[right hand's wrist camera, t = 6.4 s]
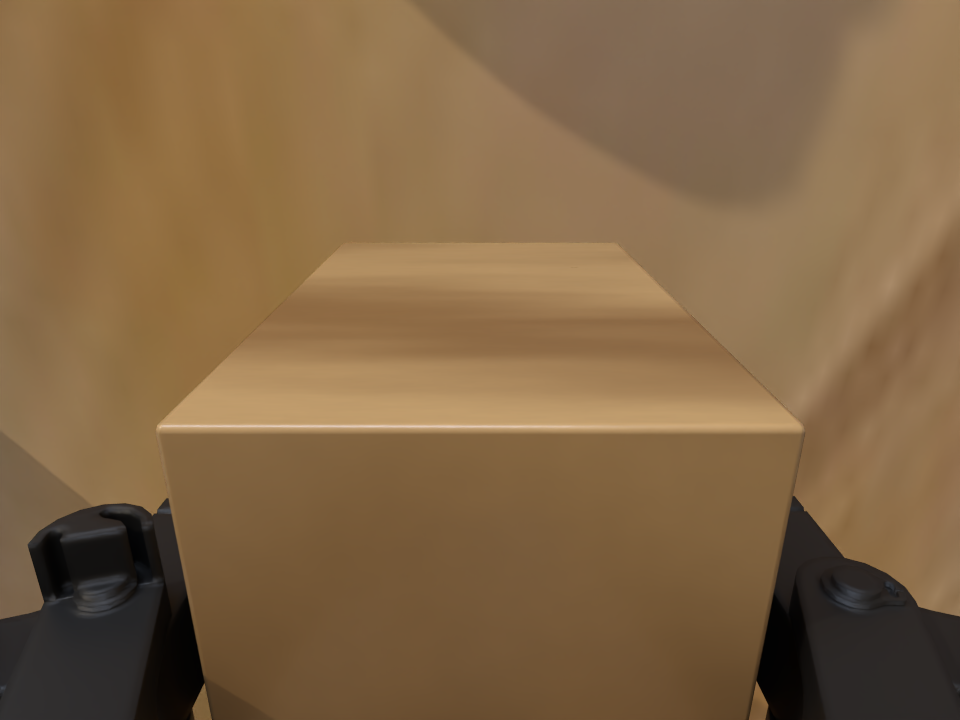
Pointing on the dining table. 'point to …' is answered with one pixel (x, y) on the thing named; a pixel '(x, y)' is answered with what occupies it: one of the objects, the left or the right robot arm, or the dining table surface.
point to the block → (480, 496)
